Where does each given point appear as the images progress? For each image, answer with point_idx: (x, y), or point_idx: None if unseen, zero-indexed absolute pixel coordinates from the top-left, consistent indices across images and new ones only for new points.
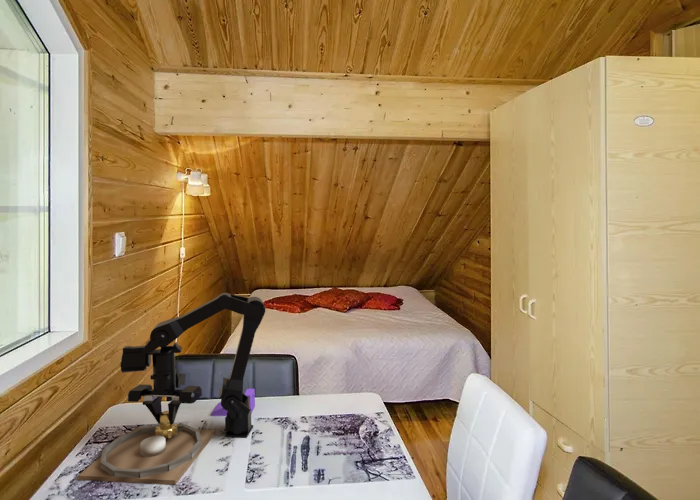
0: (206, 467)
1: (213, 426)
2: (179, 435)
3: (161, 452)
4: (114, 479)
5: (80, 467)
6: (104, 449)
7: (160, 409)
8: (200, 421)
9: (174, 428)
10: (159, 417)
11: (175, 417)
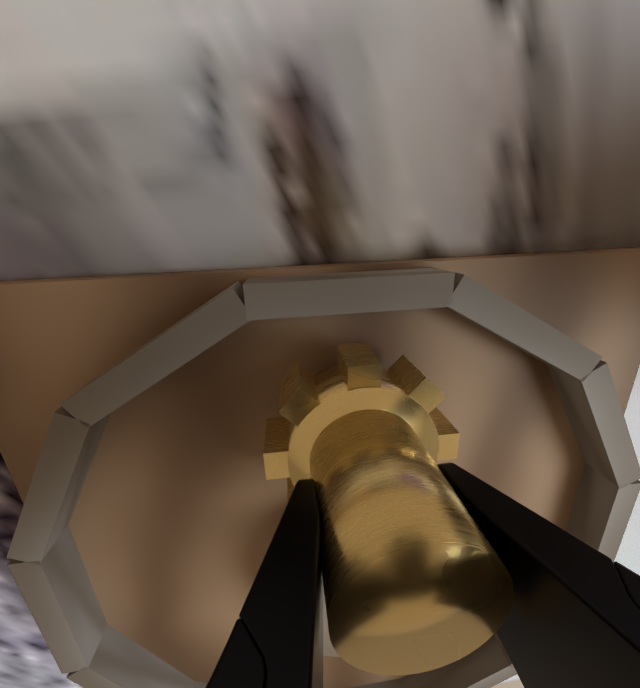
0: (627, 548)
1: (617, 120)
2: (426, 366)
3: None
4: None
5: (51, 668)
6: (72, 671)
7: (317, 668)
8: (480, 10)
9: (445, 454)
10: (322, 586)
11: (506, 498)
